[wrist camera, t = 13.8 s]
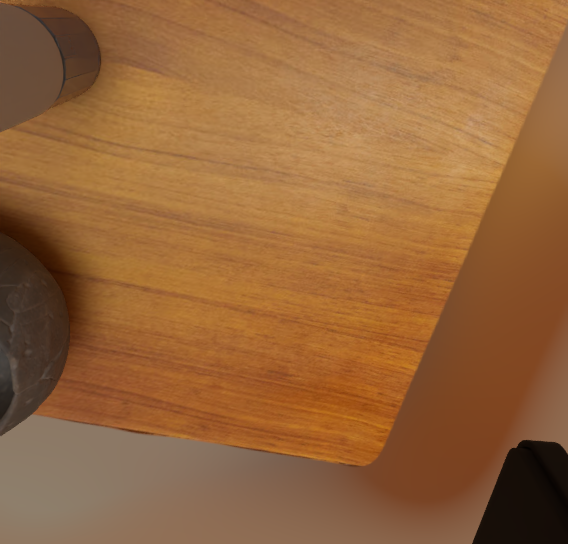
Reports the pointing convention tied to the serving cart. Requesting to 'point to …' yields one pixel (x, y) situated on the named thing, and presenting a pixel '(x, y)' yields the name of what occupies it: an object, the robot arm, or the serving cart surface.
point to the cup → (70, 48)
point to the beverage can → (26, 67)
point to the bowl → (28, 333)
